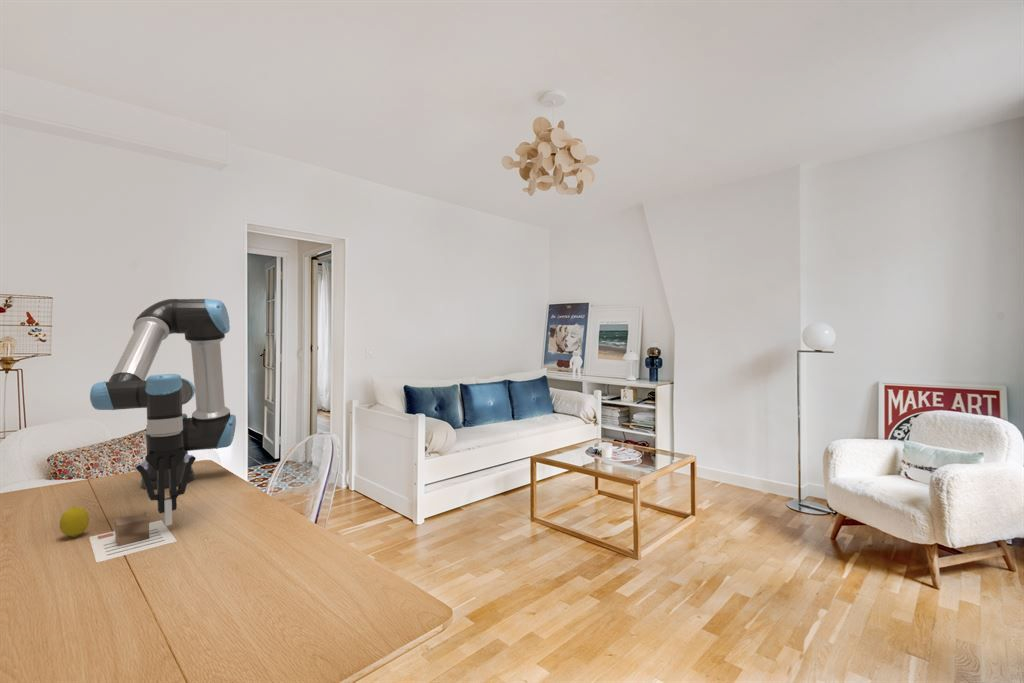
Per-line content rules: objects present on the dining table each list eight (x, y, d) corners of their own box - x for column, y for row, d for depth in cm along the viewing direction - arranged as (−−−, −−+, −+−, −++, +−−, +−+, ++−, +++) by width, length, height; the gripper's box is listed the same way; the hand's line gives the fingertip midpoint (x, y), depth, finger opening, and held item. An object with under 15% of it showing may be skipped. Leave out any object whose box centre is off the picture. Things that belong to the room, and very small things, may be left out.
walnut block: (145, 531, 124) (144, 512, 123) (149, 538, 119) (148, 518, 119) (115, 539, 119) (114, 519, 119) (118, 546, 115) (117, 525, 115)
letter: (161, 520, 132) (161, 519, 132) (177, 542, 118) (177, 541, 118) (89, 537, 121) (89, 536, 121) (96, 563, 107) (96, 562, 107)
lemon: (95, 533, 124) (94, 502, 124) (73, 542, 118) (72, 510, 118) (76, 532, 124) (75, 502, 124) (53, 541, 119) (52, 510, 119)
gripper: (191, 428, 131) (193, 513, 132) (131, 435, 122) (133, 527, 122) (198, 431, 126) (200, 520, 126) (136, 439, 117) (138, 535, 117)
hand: (167, 523), depth 124 cm, fingers closed
